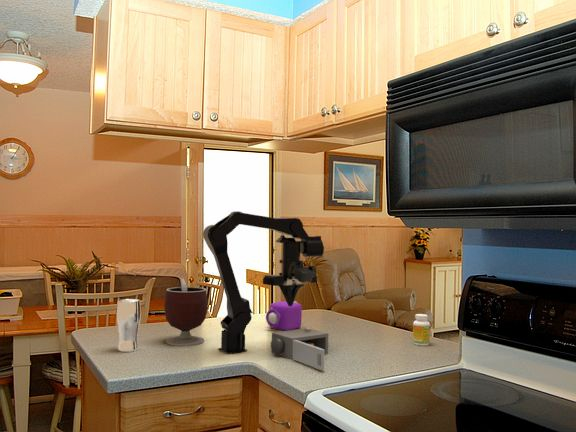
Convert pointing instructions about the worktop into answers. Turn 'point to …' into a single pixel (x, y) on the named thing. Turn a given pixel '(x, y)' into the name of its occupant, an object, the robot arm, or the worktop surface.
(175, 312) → the mate gourd
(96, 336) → the worktop surface
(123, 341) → the beer glass
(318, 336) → the box
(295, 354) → the camera door
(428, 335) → the supplement bottle
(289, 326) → the toy camera
